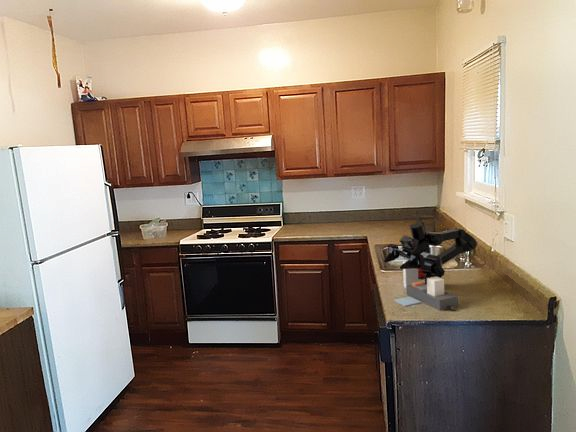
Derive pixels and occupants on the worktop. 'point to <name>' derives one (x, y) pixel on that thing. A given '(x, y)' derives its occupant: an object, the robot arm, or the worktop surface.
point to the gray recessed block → (432, 297)
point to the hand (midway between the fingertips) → (392, 264)
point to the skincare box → (410, 276)
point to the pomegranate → (420, 273)
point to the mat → (407, 301)
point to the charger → (435, 286)
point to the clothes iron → (428, 226)
